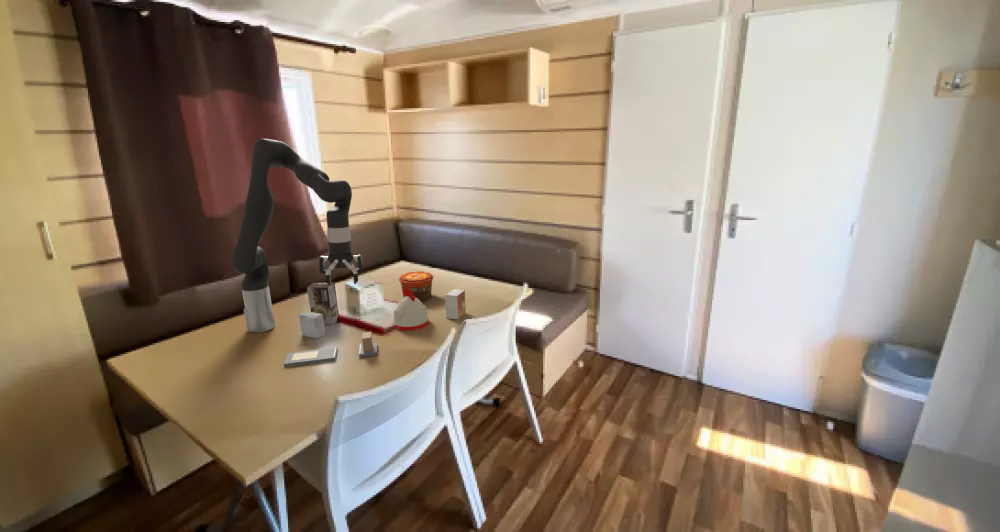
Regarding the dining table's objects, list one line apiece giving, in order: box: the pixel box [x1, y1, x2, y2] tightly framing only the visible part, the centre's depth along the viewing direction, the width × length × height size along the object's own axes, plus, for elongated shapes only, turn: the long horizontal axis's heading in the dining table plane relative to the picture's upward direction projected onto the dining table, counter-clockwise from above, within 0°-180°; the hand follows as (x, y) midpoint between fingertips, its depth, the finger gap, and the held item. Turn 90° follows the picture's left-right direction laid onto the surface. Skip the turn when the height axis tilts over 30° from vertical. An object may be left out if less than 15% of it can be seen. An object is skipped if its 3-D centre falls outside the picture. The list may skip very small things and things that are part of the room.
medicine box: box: [298, 311, 326, 340], centre depth 168 cm, size 8×4×9 cm, turn 65°
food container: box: [398, 270, 434, 302], centre depth 207 cm, size 16×16×11 cm
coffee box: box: [306, 282, 340, 325], centre depth 180 cm, size 9×6×16 cm
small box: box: [444, 288, 466, 320], centre depth 185 cm, size 8×6×10 cm
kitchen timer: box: [393, 288, 429, 331], centre depth 177 cm, size 14×14×15 cm
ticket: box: [283, 346, 338, 368], centre depth 151 cm, size 16×8×1 cm, turn 105°
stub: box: [358, 331, 378, 358], centre depth 155 cm, size 6×8×6 cm
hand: (342, 283), depth 156 cm, fingers open, 8 cm apart
